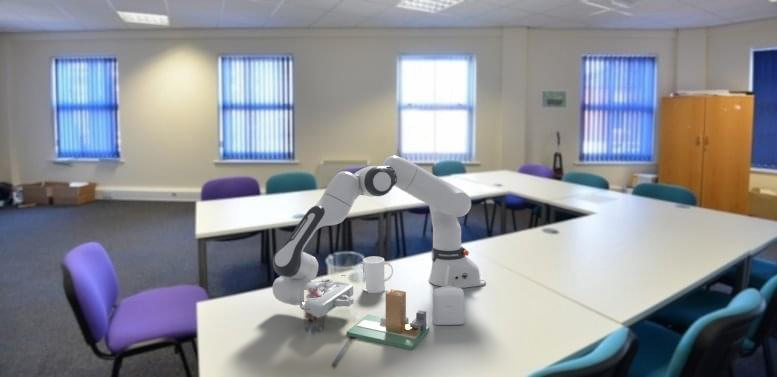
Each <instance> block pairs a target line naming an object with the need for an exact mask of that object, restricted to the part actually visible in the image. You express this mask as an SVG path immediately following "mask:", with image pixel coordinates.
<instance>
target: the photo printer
mask: <svg viewBox="0 0 777 377" xmlns="http://www.w3.org/2000/svg"><path fill="white" fill-rule="evenodd" d="M463 289H464V288H458V287H451V286H447V287H442V286H439V287H436V288H434V289H433V293H432V324H433V325H435V326H455V325H457V326H458V325H464V323H465V293H464V290H463Z"/></svg>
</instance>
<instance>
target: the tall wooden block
mask: <svg viewBox="0 0 777 377" xmlns="http://www.w3.org/2000/svg"><path fill="white" fill-rule="evenodd" d="M385 313H386V331H390V332H395V333H399V334H401V333H403V334H408V335H413V336H417V335H418V334H419V333H420V328H419V329H418V328H414V327H410V325H407V324H406V317H407V292H406V291H404V290H397V289H391V288H390V290H388V291H387V292H385Z"/></svg>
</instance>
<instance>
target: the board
mask: <svg viewBox="0 0 777 377" xmlns="http://www.w3.org/2000/svg"><path fill="white" fill-rule="evenodd" d="M406 324H407V325H410V327H414V328H418V329H419V328H420V333H419V334H418V335H417V336H413V335H408V334H403V333H401V334H399V333H395V332H390V331H386V312H385V314H383V315H382V316H378V315H373V314H369V313H368V314H366V315H365V316H364V317H363V318H362V319H360V320H359V321H358V322H356V324H354V325H353V326H352V327H351V328H349V329H348V330H346V336H347V337H353V338H357V339H361V340H366V341H369V342H370V341H371V342H374V343H379V344H384V345H389V346H392V347H396V348H400V349H401V348H402V349H407V350H411V351H413V350H414V349H415V348H416V346H417V345H418V344H419V343H420V342H421V341H422V339H423V338H424V337H425V335H427V334H428V332H429V331H430V326H428V325H427V311H426V310H422V309H421V310H420V309H419V310H417V312H416V317H415V318H414V319H413V320H412V321H411V322H410V321H409V316H406Z"/></svg>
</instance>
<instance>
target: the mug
mask: <svg viewBox="0 0 777 377" xmlns="http://www.w3.org/2000/svg"><path fill="white" fill-rule="evenodd" d="M362 262H363V263H362V264H363V273H364V274H363V278H364V277H365V279H366V289H367V292H368V294H379V293H383V292H384V291H385V290H386V284H385V282H387V281H389V280H390V279H391V278H392V276H393V273H394V268H393V266H392V264H391V263H390V262H388V261H385V258H384V257H381V256H377V255H376V256H373V255H372V256H367V257H365V258H363V260H362ZM385 265H388V266H389V267H390V269H391V273H390V275H389V276H388V277H387V278H385ZM367 292H366V293H367Z"/></svg>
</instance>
